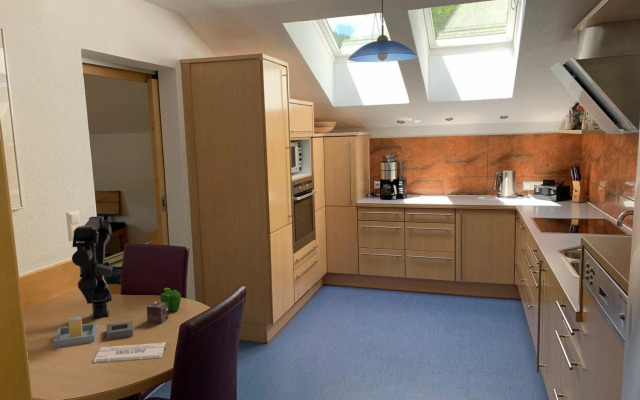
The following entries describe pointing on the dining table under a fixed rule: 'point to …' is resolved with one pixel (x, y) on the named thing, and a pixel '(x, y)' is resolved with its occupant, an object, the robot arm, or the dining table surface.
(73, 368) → the dining table surface
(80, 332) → the block
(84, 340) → the parts tray
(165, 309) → the box
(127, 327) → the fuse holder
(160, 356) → the newspaper
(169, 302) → the bell pepper
